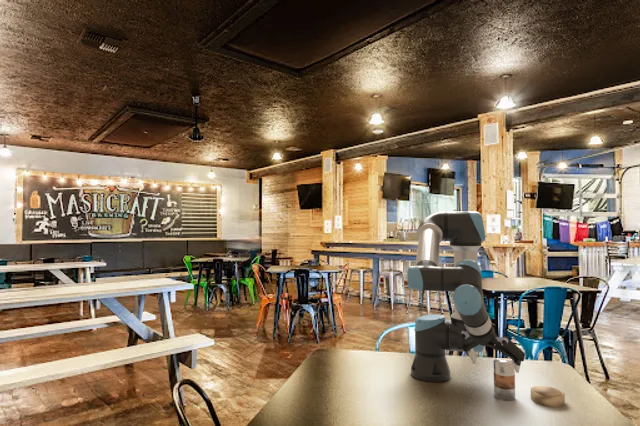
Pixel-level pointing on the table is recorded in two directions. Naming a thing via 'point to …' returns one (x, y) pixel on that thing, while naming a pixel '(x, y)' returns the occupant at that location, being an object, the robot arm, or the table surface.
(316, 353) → the table surface
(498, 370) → the can
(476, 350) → the robot arm
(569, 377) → the table surface
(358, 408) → the table surface
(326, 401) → the table surface
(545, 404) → the stand
